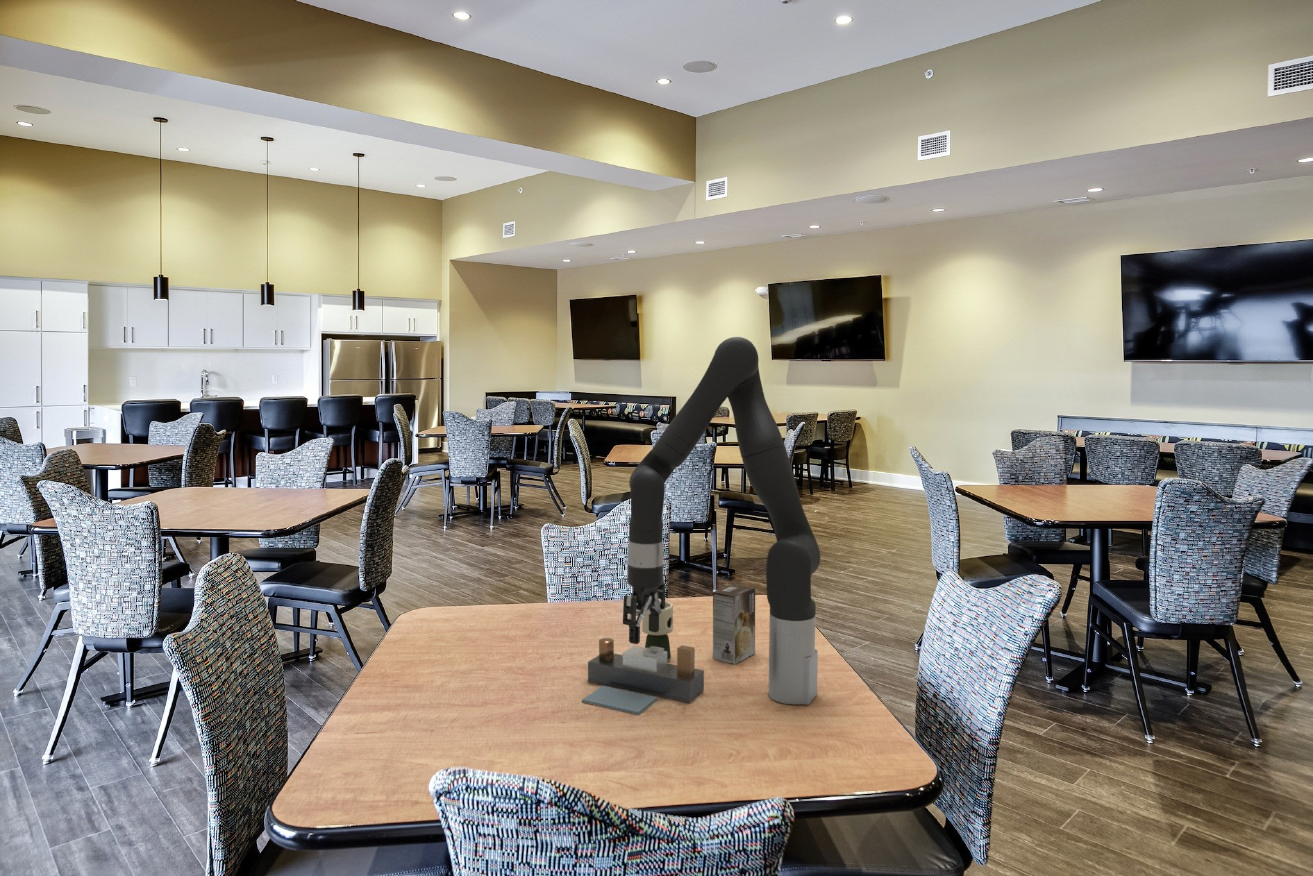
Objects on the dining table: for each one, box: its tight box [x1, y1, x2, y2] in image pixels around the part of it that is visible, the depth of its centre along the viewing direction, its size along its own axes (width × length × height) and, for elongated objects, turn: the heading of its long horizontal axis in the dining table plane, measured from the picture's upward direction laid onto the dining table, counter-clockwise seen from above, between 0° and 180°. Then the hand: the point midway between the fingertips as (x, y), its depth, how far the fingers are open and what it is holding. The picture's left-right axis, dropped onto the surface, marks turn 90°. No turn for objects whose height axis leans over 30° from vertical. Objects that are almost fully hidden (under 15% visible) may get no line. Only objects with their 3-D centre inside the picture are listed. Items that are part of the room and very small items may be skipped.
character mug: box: [641, 600, 674, 661], centre depth 186 cm, size 11×7×13 cm, turn 179°
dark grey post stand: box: [587, 637, 705, 704], centre depth 170 cm, size 24×7×10 cm, turn 63°
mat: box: [581, 685, 658, 716], centre depth 163 cm, size 13×8×1 cm, turn 63°
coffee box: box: [712, 583, 756, 665], centre depth 188 cm, size 9×6×16 cm
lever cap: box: [622, 645, 668, 673], centre depth 170 cm, size 8×5×4 cm, turn 63°
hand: (644, 637), depth 170 cm, fingers open, 8 cm apart
